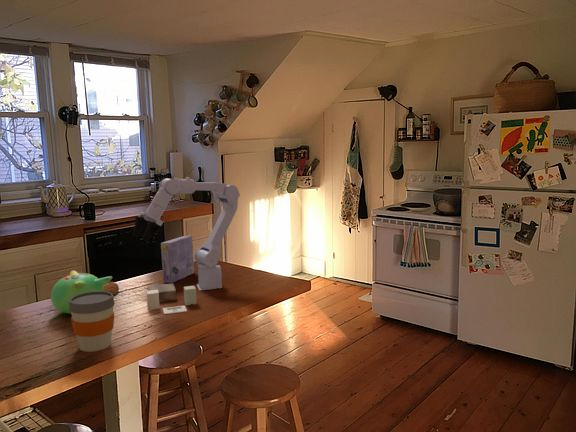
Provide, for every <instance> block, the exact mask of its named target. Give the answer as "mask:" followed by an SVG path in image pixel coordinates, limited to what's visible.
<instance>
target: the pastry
mask: <svg viewBox="0 0 576 432" xmlns="http://www.w3.org/2000/svg"><path fill="white" fill-rule="evenodd" d="M103 287H104V291H105V292H110V293H112V294H113V296H114V295H117V294H118V292H119V290H120V288H119V284H118V283H116V282H114V281H109V282H108V283H106V284H105V285H104V286H103Z"/></svg>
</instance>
